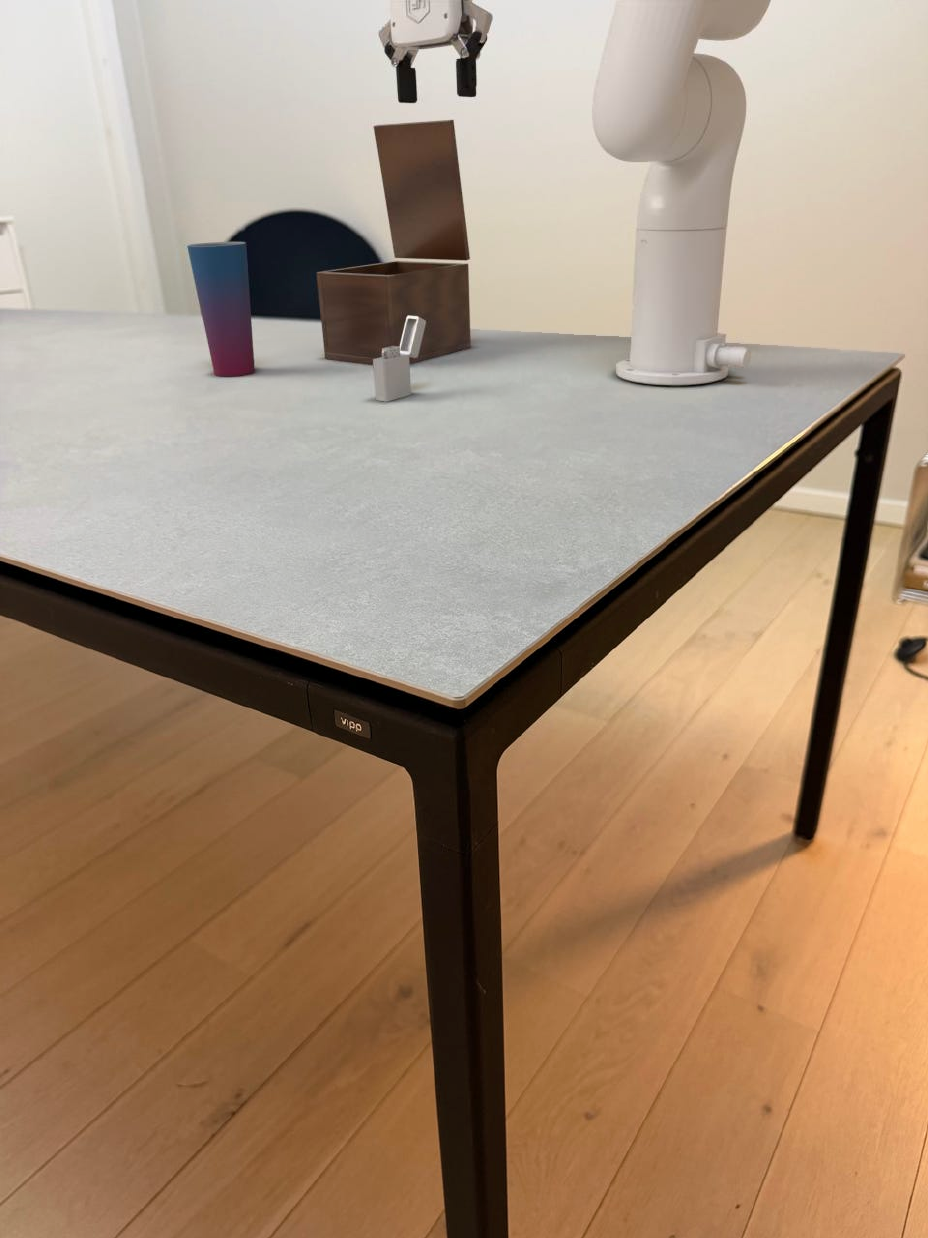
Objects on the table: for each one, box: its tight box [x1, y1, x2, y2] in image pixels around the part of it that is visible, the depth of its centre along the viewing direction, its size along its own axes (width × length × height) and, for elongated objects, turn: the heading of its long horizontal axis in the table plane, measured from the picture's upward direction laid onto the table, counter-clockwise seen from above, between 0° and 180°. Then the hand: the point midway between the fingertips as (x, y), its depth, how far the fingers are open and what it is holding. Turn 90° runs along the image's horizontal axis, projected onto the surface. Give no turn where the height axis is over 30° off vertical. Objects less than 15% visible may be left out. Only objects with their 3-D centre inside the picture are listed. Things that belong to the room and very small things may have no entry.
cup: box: [186, 241, 256, 377], centre depth 112 cm, size 7×7×15 cm
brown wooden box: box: [316, 260, 472, 365], centre depth 122 cm, size 16×13×11 cm
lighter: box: [373, 316, 426, 403], centre depth 99 cm, size 7×2×8 cm, turn 141°
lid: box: [373, 119, 471, 262], centre depth 121 cm, size 16×13×5 cm
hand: (436, 99), depth 118 cm, fingers open, 9 cm apart
